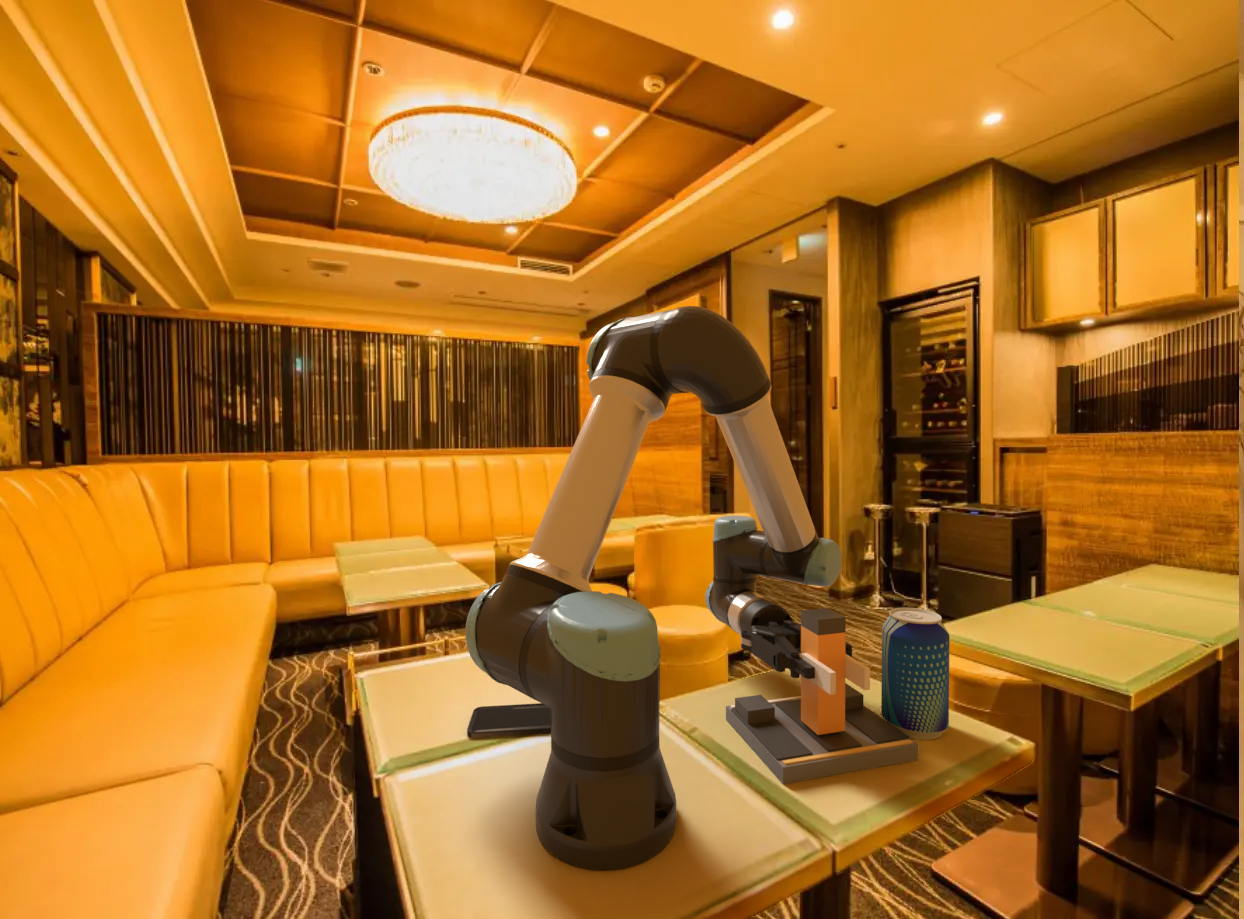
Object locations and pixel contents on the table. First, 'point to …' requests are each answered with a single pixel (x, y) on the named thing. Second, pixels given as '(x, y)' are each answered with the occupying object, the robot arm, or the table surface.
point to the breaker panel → (817, 738)
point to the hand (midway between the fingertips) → (850, 681)
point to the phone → (509, 720)
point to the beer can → (915, 673)
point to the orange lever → (828, 647)
